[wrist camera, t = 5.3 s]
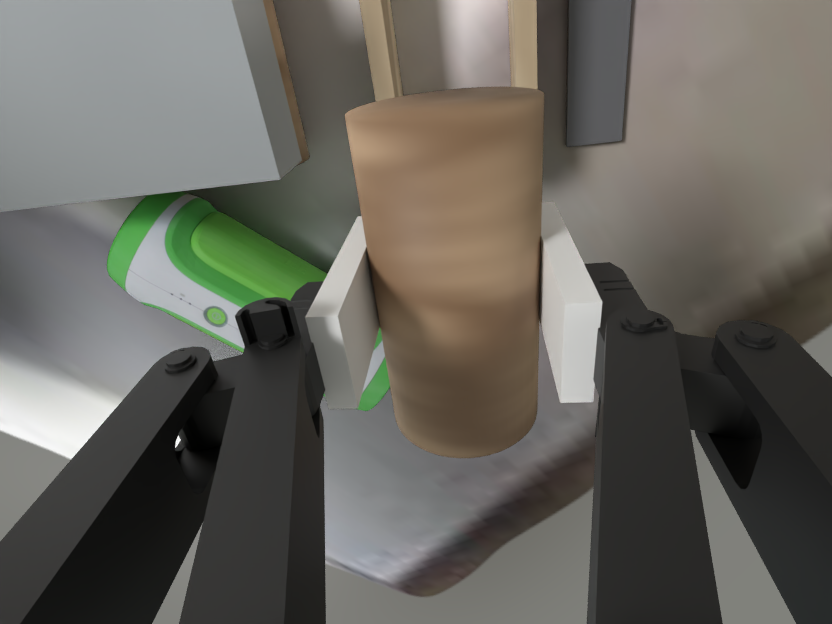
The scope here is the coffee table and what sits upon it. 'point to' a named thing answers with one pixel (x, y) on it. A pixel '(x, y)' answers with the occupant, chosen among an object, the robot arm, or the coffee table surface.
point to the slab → (137, 99)
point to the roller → (455, 259)
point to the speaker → (212, 271)
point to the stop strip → (596, 70)
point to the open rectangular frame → (386, 56)
